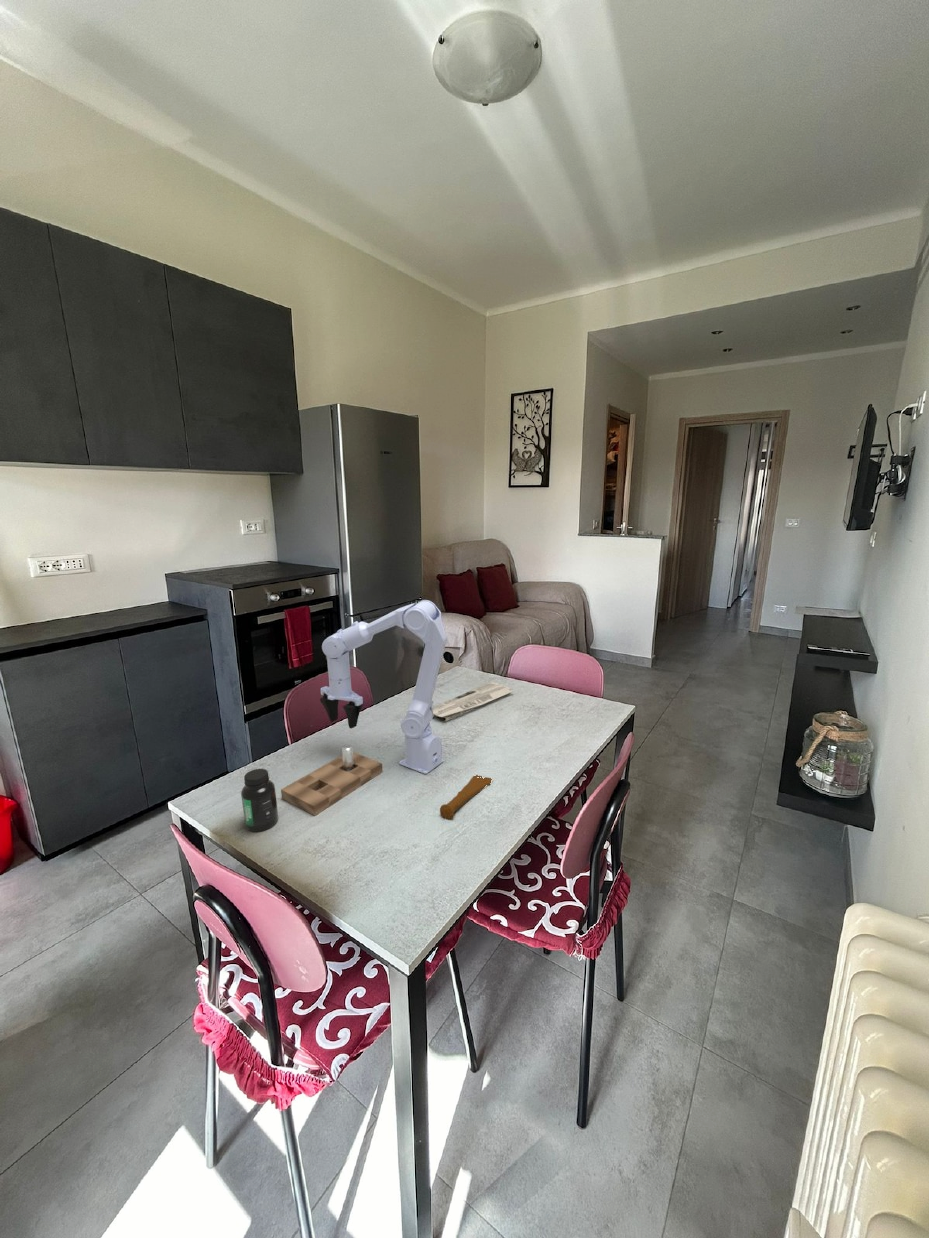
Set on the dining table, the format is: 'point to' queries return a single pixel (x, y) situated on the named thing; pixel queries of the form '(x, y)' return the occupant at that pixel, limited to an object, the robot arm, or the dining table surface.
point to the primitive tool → (464, 796)
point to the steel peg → (348, 758)
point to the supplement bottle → (259, 801)
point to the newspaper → (470, 700)
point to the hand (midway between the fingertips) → (343, 723)
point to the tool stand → (330, 783)
